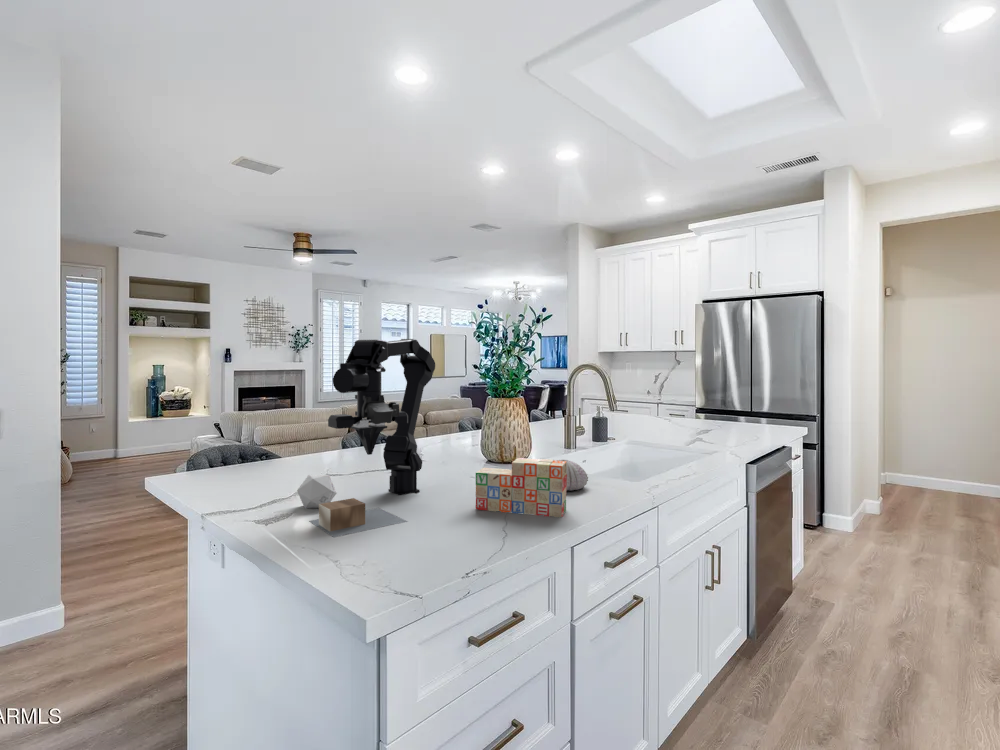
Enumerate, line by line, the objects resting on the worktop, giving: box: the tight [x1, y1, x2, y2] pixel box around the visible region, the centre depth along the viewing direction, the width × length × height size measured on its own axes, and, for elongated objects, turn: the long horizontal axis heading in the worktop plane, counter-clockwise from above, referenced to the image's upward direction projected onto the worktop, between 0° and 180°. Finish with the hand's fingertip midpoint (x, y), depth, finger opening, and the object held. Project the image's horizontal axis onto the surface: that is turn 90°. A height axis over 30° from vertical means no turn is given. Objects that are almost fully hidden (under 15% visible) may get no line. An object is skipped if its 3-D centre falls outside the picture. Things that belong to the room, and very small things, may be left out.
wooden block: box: [318, 497, 366, 531], centre depth 116 cm, size 4×6×8 cm
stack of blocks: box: [475, 457, 567, 518], centre depth 128 cm, size 21×6×12 cm, turn 73°
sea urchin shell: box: [556, 459, 589, 492], centre depth 151 cm, size 13×14×8 cm
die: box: [296, 474, 338, 509], centre depth 130 cm, size 8×9×10 cm
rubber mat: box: [308, 507, 409, 538], centre depth 118 cm, size 17×14×1 cm
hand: (369, 454), depth 130 cm, fingers closed
